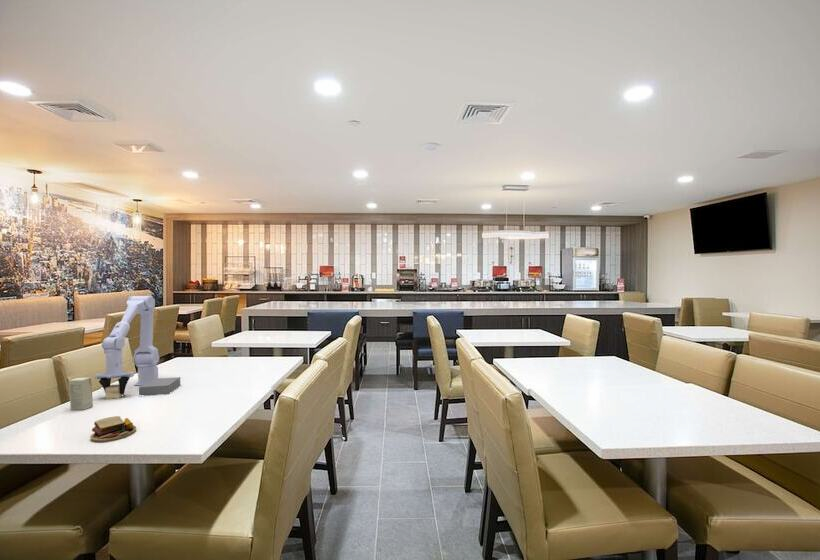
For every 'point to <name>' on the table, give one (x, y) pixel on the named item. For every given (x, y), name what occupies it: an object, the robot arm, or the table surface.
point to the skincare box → (80, 393)
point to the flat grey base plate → (159, 386)
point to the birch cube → (113, 391)
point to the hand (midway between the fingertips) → (115, 393)
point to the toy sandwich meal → (112, 429)
